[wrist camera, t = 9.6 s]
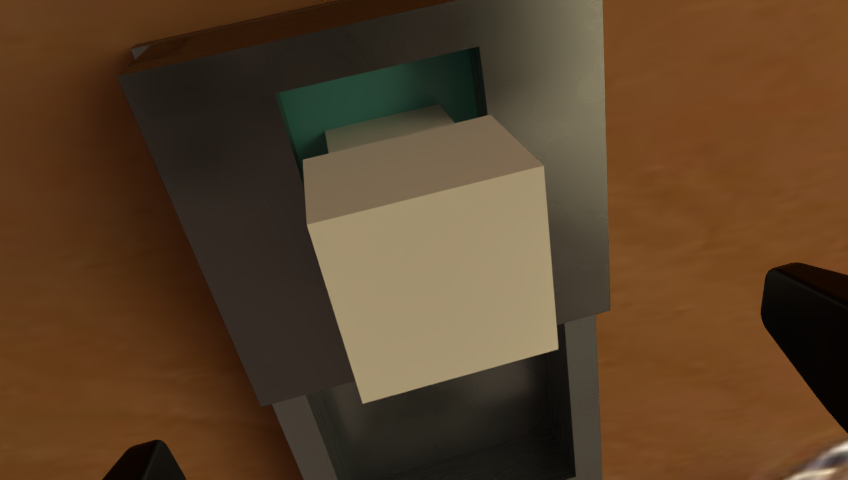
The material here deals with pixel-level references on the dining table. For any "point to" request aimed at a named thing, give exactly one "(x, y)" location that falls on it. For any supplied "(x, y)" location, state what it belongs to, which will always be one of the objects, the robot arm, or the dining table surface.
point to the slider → (423, 225)
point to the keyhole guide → (295, 255)
